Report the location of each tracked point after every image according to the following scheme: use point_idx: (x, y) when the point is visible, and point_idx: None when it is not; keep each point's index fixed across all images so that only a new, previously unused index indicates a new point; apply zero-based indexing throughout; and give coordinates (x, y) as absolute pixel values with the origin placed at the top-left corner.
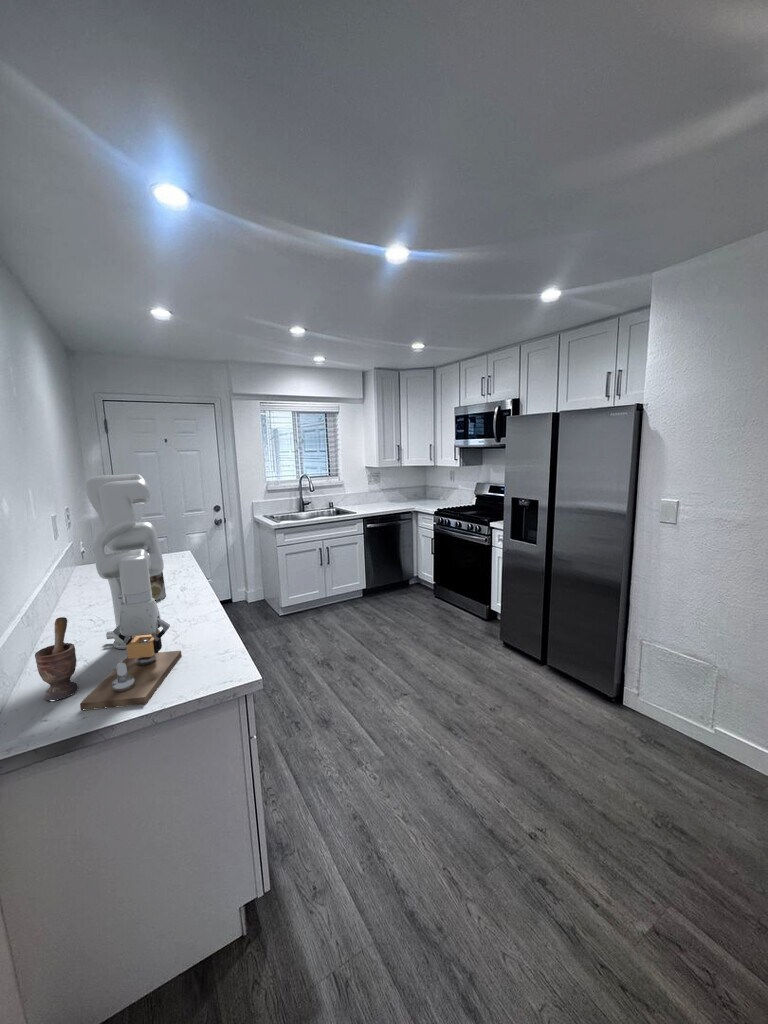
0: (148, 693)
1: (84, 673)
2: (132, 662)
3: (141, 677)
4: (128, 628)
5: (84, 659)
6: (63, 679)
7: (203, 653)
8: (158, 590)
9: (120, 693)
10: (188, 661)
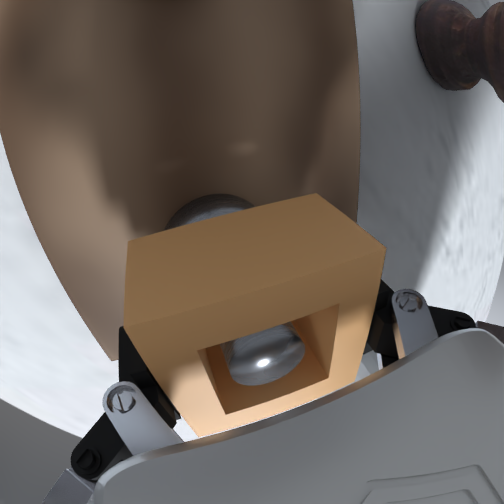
0: None
1: (440, 177)
2: None
3: (112, 53)
4: (483, 428)
5: (451, 257)
6: (487, 10)
7: (42, 359)
8: None
9: None
10: (40, 305)
